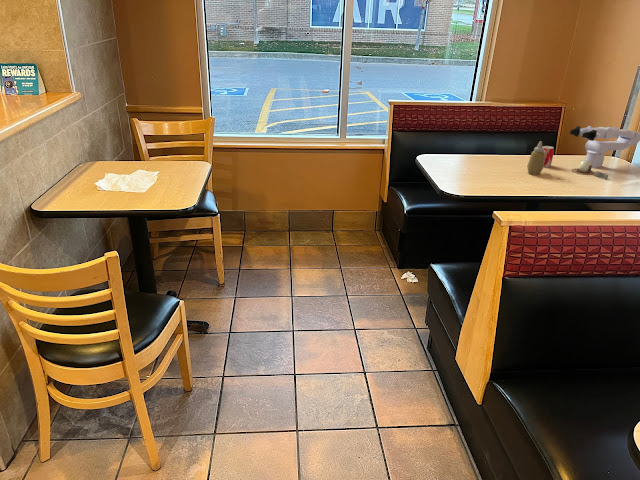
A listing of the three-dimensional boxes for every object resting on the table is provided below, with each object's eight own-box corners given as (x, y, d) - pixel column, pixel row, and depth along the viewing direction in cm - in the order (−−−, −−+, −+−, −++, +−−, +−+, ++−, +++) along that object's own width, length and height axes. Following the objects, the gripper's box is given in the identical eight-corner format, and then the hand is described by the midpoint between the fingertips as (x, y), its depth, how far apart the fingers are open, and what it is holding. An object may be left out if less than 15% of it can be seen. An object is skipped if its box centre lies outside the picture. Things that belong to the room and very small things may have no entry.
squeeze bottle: (541, 172, 261) (549, 140, 253) (541, 176, 255) (548, 144, 247) (526, 170, 264) (533, 138, 256) (525, 174, 258) (532, 142, 250)
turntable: (565, 171, 262) (567, 164, 260) (580, 169, 267) (582, 161, 265) (597, 182, 246) (600, 174, 244) (613, 179, 251) (615, 171, 249)
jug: (583, 173, 257) (586, 162, 254) (576, 171, 260) (579, 160, 258) (591, 172, 259) (594, 161, 256) (584, 169, 263) (587, 159, 260)
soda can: (551, 169, 266) (556, 149, 261) (538, 169, 267) (542, 148, 262) (548, 166, 272) (553, 146, 267) (535, 165, 273) (540, 145, 268)
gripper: (584, 123, 263) (567, 123, 257) (607, 128, 251) (591, 129, 246) (580, 135, 266) (563, 136, 260) (603, 141, 254) (586, 142, 249)
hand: (576, 133), depth 253 cm, fingers open, 7 cm apart
